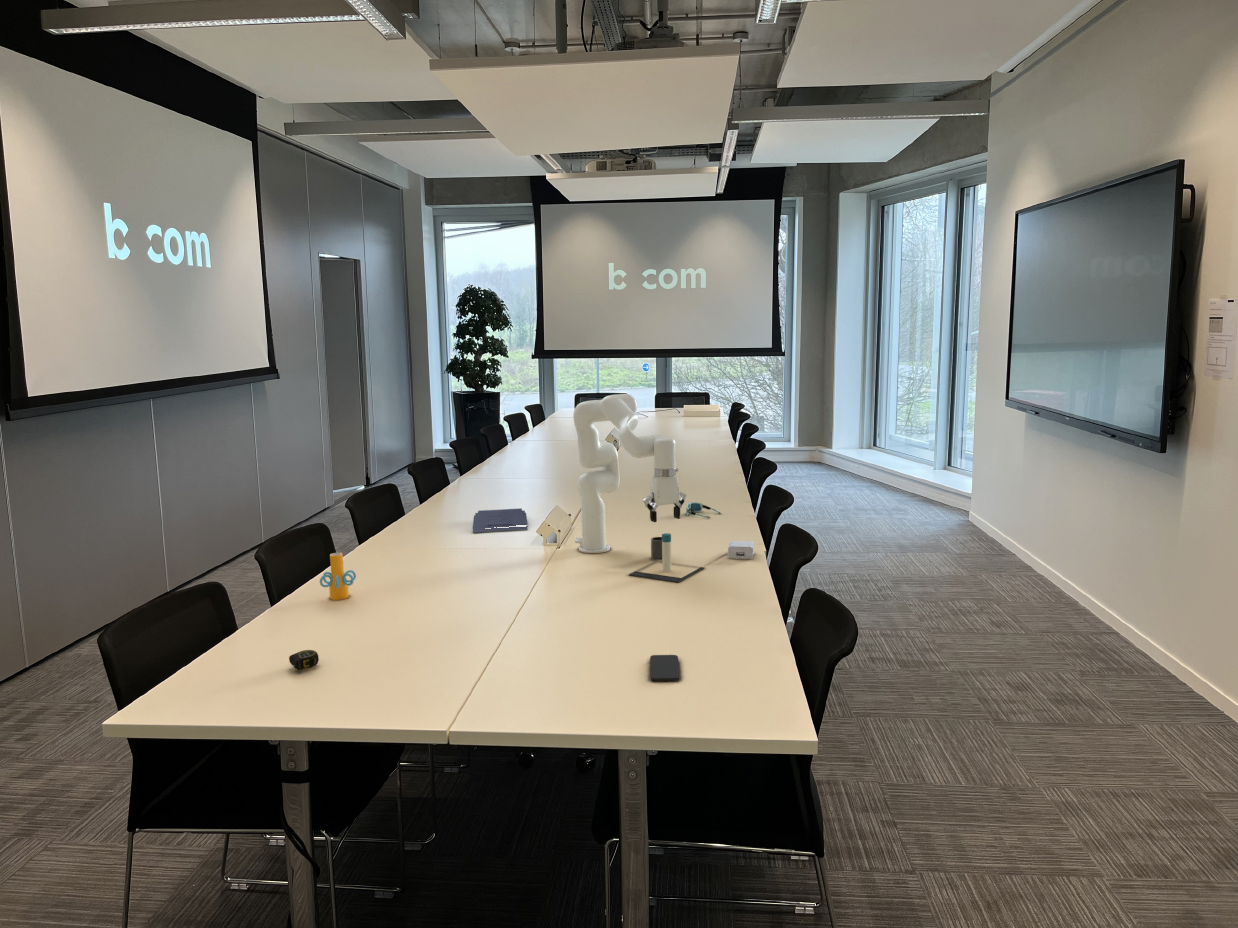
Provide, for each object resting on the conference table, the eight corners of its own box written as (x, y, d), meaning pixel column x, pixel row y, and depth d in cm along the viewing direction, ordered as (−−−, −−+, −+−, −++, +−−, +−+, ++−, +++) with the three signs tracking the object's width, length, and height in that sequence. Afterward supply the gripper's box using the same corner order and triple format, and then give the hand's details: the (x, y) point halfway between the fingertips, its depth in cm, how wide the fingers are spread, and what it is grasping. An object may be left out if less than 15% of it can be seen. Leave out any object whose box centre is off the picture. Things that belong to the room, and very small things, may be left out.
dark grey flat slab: (526, 513, 406) (525, 506, 405) (528, 535, 377) (527, 527, 376) (474, 516, 402) (474, 508, 402) (472, 538, 374) (472, 530, 373)
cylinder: (364, 594, 289) (361, 551, 287) (345, 603, 279) (341, 559, 277) (334, 591, 293) (331, 549, 291) (314, 600, 283) (310, 557, 281)
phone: (650, 678, 210) (649, 654, 225) (650, 681, 211) (650, 657, 225) (680, 677, 210) (677, 654, 225) (680, 681, 210) (678, 657, 225)
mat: (628, 575, 303) (628, 574, 303) (656, 561, 320) (656, 560, 320) (678, 582, 292) (678, 581, 292) (704, 568, 309) (704, 567, 309)
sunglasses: (695, 509, 410) (696, 499, 408) (722, 517, 401) (723, 507, 400) (680, 515, 398) (681, 505, 397) (707, 522, 390) (708, 512, 389)
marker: (660, 571, 305) (660, 534, 303) (665, 569, 308) (664, 532, 306) (668, 572, 304) (668, 535, 302) (673, 570, 306) (672, 533, 304)
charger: (755, 549, 334) (752, 559, 320) (731, 548, 336) (728, 558, 322) (755, 537, 334) (752, 546, 319) (731, 536, 336) (728, 546, 321)
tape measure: (289, 666, 227) (287, 652, 226) (315, 660, 231) (314, 646, 230) (295, 674, 221) (294, 660, 221) (322, 667, 225) (321, 654, 224)
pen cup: (648, 560, 323) (648, 539, 321) (656, 556, 328) (655, 536, 326) (661, 561, 320) (661, 541, 318) (669, 558, 325) (668, 537, 323)
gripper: (679, 468, 308) (680, 514, 311) (638, 473, 300) (639, 520, 303) (691, 471, 301) (691, 518, 304) (649, 476, 293) (649, 525, 296)
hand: (665, 519), depth 303 cm, fingers open, 9 cm apart
